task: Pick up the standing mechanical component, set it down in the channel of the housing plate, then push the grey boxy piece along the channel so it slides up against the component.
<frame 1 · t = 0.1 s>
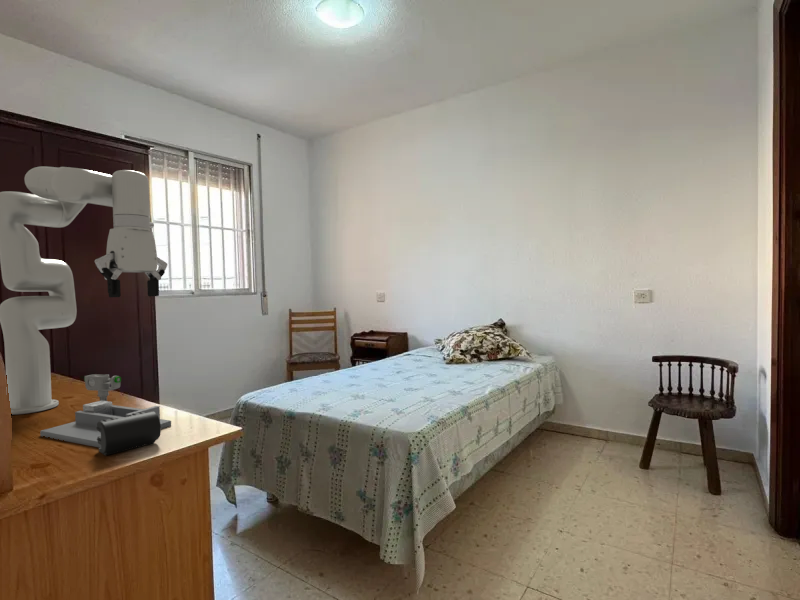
hand: (134, 296, 105), 31 cm above the table, tool pointing down, fingers open, 9 cm apart
grey boxy piece: (98, 411, 107), point 3 cm above the table, slide at 0.0 cm
end cap: (129, 449, 91), on the table
housing: (107, 430, 103), on the table
mechanical component: (103, 413, 118), on the table
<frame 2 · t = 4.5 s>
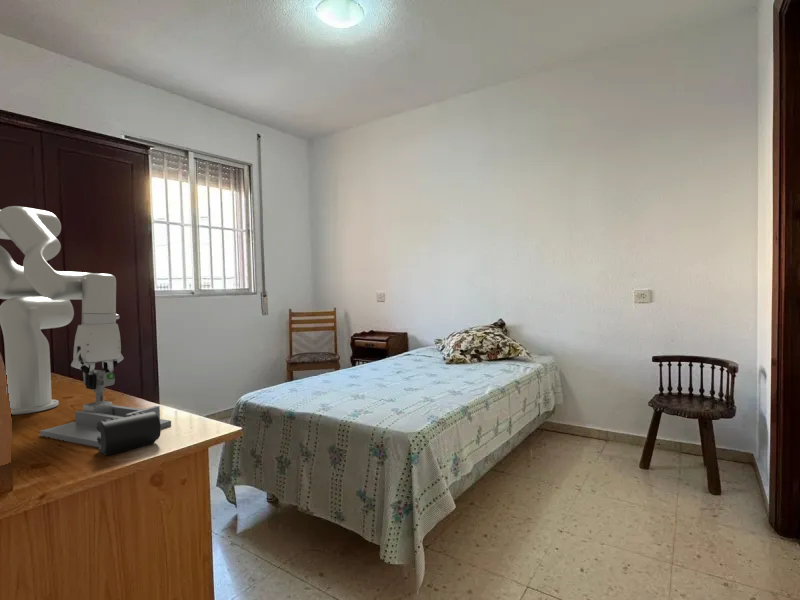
hand: (98, 386, 119), 7 cm above the table, tool pointing down, fingers closed on mechanical component, 3 cm apart
mechanical component: (99, 409, 119), point 1 cm above the table, touching gripper
everything else where it was.
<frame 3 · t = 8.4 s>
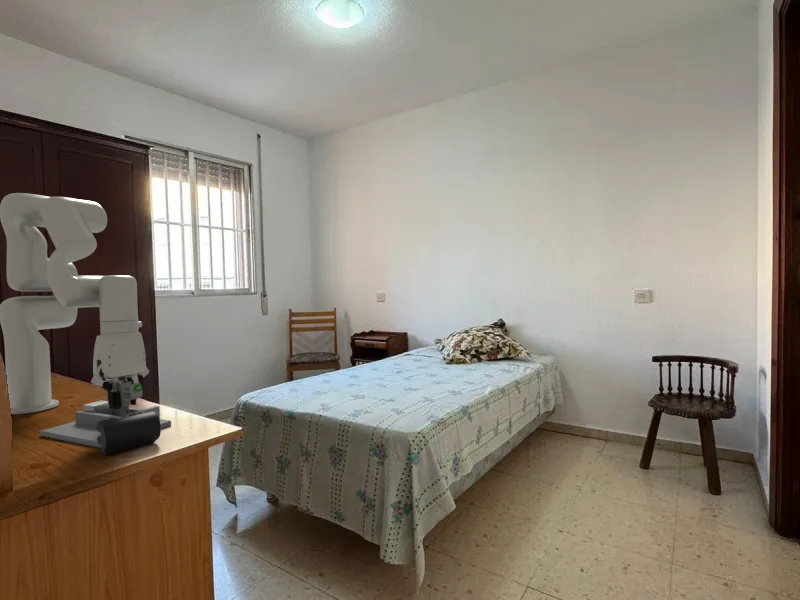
hand: (122, 405, 103), 6 cm above the table, tool pointing down, fingers closed on mechanical component, 3 cm apart
mechanical component: (125, 425, 103), point 1 cm above the table, touching gripper, housing
everything else where it was.
when the fingers open (6 cm above the table, at t = 8.9 s): mechanical component stays where it is, resting on housing.
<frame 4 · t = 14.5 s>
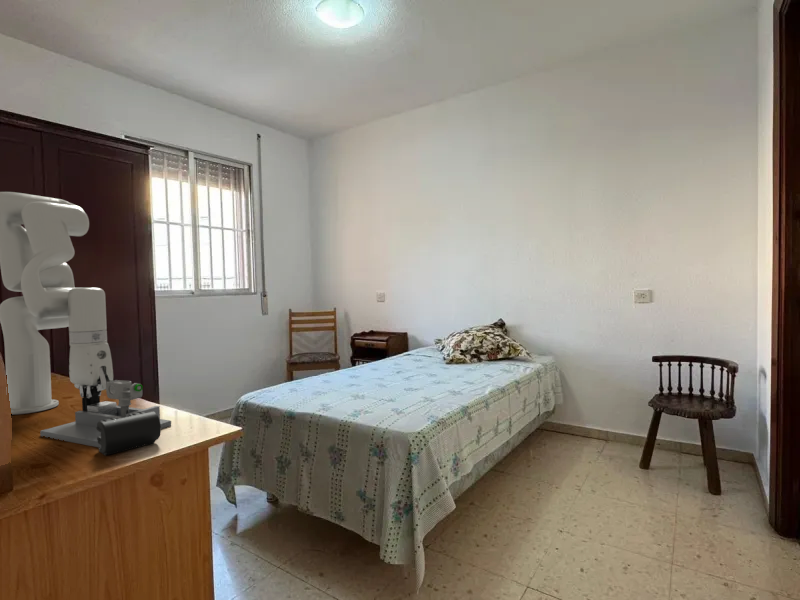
hand: (91, 412, 108), 3 cm above the table, tool pointing down, fingers closed
grey boxy piece: (102, 412, 106), point 3 cm above the table, slide at 1.6 cm, touching gripper
mechanical component: (125, 425, 103), point 1 cm above the table, touching housing
everything else where it was.
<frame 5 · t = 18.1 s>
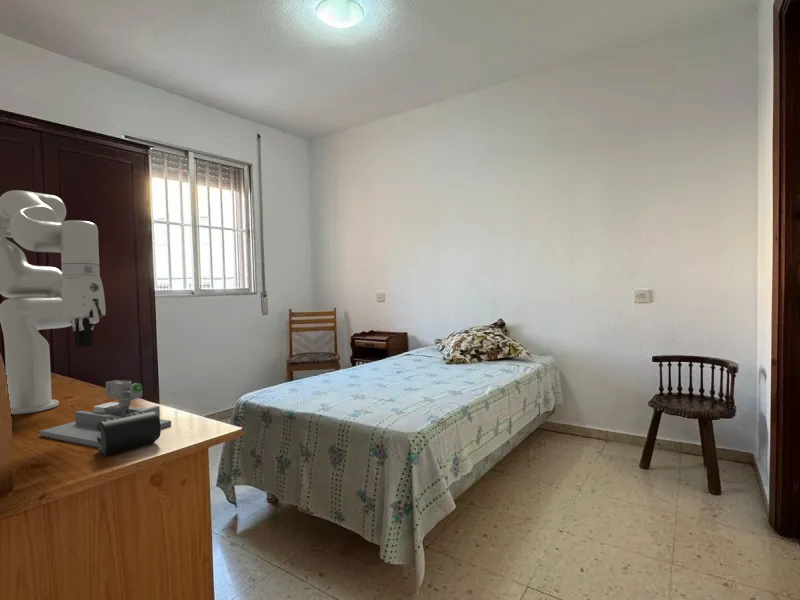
hand: (83, 346, 108), 19 cm above the table, tool pointing down, fingers closed
grey boxy piece: (108, 413, 105), point 3 cm above the table, slide at 3.9 cm
everything else where it was.
at the end: mechanical component 0.2 cm from the target spot on the housing, point 1.0 cm above the housing's base; mechanical component tilted 0°; grey boxy piece slide at 3.9 cm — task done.
